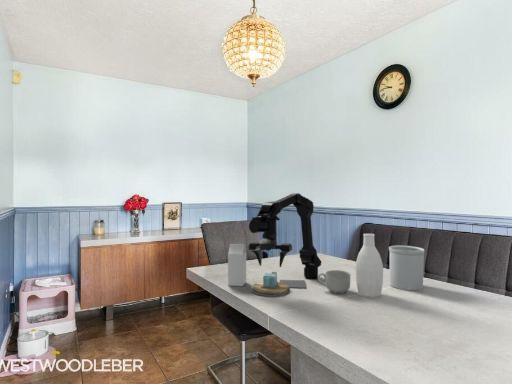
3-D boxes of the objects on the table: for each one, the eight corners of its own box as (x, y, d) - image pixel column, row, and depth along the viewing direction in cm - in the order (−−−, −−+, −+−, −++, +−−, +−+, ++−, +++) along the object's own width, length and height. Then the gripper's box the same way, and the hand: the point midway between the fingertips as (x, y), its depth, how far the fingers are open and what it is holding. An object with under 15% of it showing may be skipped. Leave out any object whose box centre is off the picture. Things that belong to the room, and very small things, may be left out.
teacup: (352, 289, 143) (352, 271, 144) (348, 296, 134) (348, 277, 134) (321, 285, 149) (321, 268, 149) (315, 292, 140) (315, 274, 140)
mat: (304, 281, 157) (304, 280, 157) (306, 288, 146) (306, 287, 146) (279, 280, 158) (279, 279, 158) (279, 287, 147) (279, 287, 147)
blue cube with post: (266, 284, 146) (266, 273, 146) (277, 285, 145) (277, 273, 145) (261, 289, 139) (261, 277, 139) (273, 290, 137) (272, 278, 137)
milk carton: (242, 286, 149) (242, 245, 149) (228, 285, 150) (227, 245, 150) (246, 282, 156) (246, 243, 156) (232, 281, 157) (232, 242, 157)
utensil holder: (429, 285, 148) (428, 247, 148) (418, 293, 137) (418, 252, 137) (396, 280, 158) (395, 244, 158) (384, 286, 147) (383, 248, 147)
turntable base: (289, 285, 151) (289, 283, 151) (290, 296, 134) (290, 295, 134) (253, 284, 152) (253, 283, 152) (249, 296, 135) (249, 294, 135)
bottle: (363, 288, 144) (362, 231, 144) (388, 294, 136) (387, 234, 136) (350, 294, 136) (350, 234, 136) (376, 300, 128) (375, 236, 128)
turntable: (258, 282, 153) (258, 271, 153) (291, 284, 148) (291, 273, 148) (247, 292, 138) (247, 279, 138) (284, 295, 133) (284, 282, 133)
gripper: (243, 232, 139) (244, 268, 139) (285, 234, 132) (286, 272, 132) (252, 229, 149) (253, 263, 149) (292, 230, 143) (292, 266, 143)
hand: (270, 266), depth 143 cm, fingers open, 9 cm apart
